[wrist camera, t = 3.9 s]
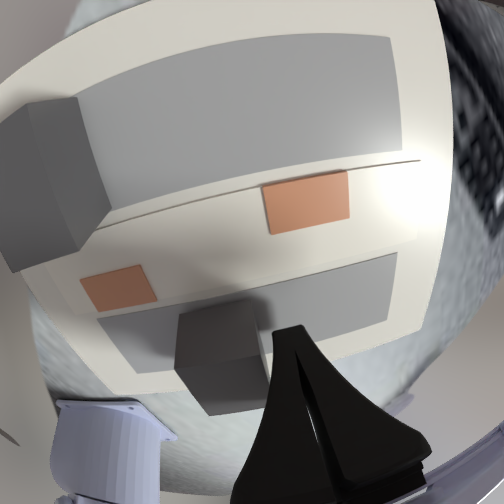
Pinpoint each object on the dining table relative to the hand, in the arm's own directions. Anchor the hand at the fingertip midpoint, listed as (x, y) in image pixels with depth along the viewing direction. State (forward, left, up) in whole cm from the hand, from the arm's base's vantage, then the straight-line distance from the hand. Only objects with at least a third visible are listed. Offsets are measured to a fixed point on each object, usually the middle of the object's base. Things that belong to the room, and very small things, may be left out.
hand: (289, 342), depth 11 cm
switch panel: (-1, +5, -3) cm, 6 cm away
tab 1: (-6, +9, -1) cm, 11 cm away
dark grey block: (-3, 0, -1) cm, 3 cm away
